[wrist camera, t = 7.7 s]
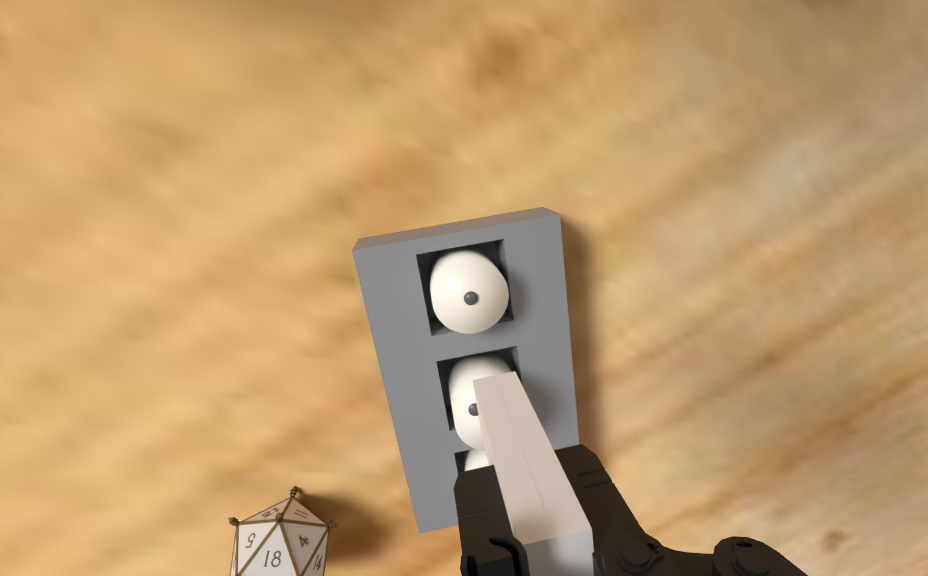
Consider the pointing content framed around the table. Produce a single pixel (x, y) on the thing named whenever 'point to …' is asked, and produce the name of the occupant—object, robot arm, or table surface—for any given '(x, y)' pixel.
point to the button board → (466, 341)
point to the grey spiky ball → (281, 541)
